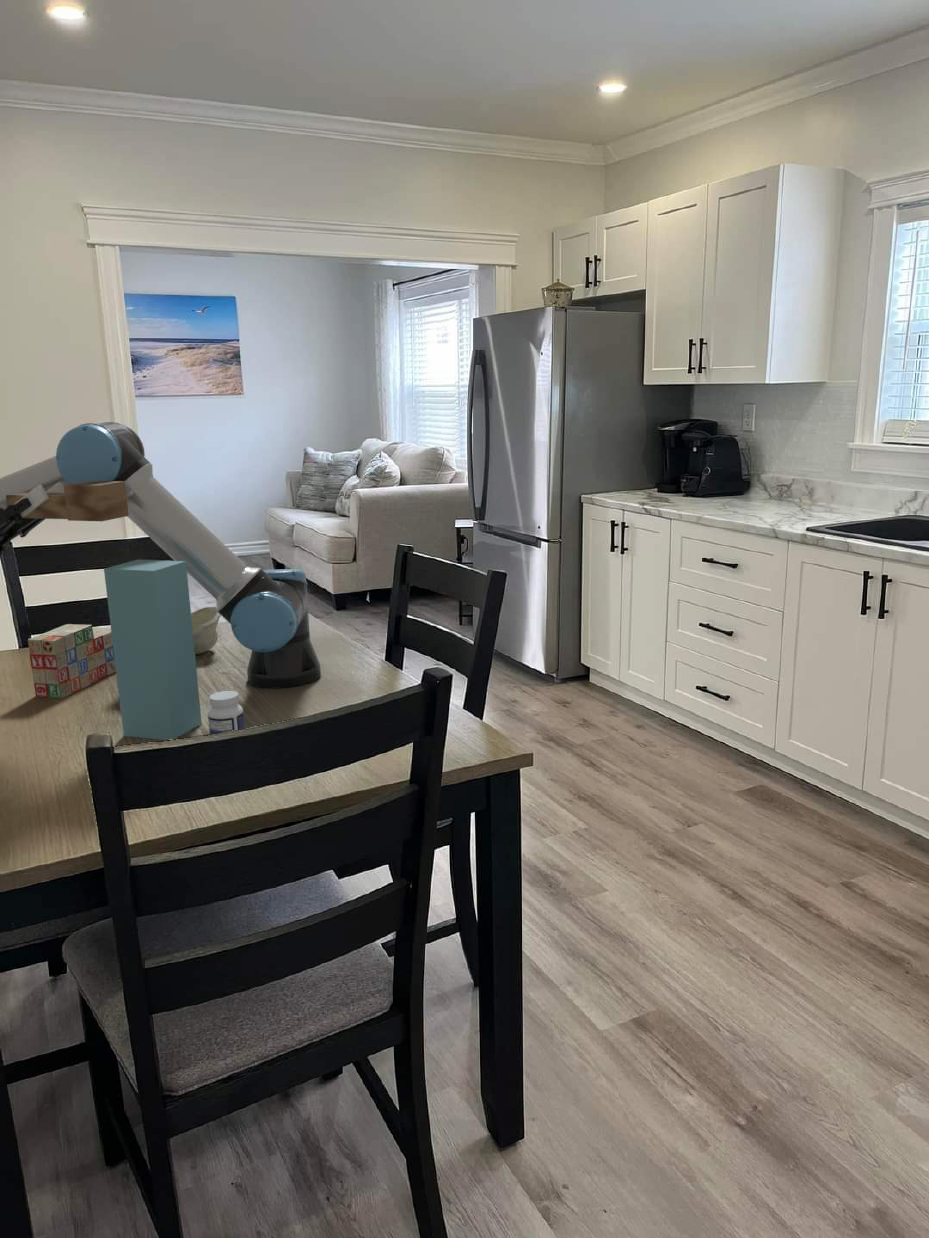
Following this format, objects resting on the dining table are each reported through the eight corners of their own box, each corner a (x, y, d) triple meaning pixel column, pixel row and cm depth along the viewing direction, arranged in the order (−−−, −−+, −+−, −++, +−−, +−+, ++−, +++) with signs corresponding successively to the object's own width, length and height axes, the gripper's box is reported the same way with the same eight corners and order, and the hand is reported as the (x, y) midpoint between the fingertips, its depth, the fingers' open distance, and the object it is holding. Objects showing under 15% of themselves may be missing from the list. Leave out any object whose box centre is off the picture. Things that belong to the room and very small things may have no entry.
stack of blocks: (100, 667, 207) (94, 613, 204) (125, 668, 206) (118, 614, 203) (35, 697, 187) (26, 638, 184) (61, 699, 186) (53, 639, 183)
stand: (201, 723, 169) (185, 561, 162) (172, 740, 161) (154, 570, 154) (155, 718, 172) (137, 559, 165) (123, 735, 164) (103, 568, 157)
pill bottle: (232, 742, 160) (227, 687, 157) (253, 749, 156) (249, 693, 154) (204, 752, 155) (199, 696, 153) (225, 760, 152) (220, 702, 150)
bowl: (159, 649, 220) (155, 608, 218) (219, 641, 226) (215, 601, 224) (168, 664, 207) (163, 621, 205) (231, 656, 213) (228, 613, 210)
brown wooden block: (128, 515, 162) (125, 481, 161) (101, 521, 156) (97, 485, 155) (31, 513, 169) (27, 480, 168) (2, 518, 162) (-3, 484, 161)
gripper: (17, 562, 179) (97, 503, 170) (-56, 579, 163) (28, 515, 154) (-3, 528, 179) (76, 467, 170) (-78, 542, 163) (4, 476, 154)
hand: (53, 490), depth 162 cm, fingers closed on brown wooden block, 4 cm apart
